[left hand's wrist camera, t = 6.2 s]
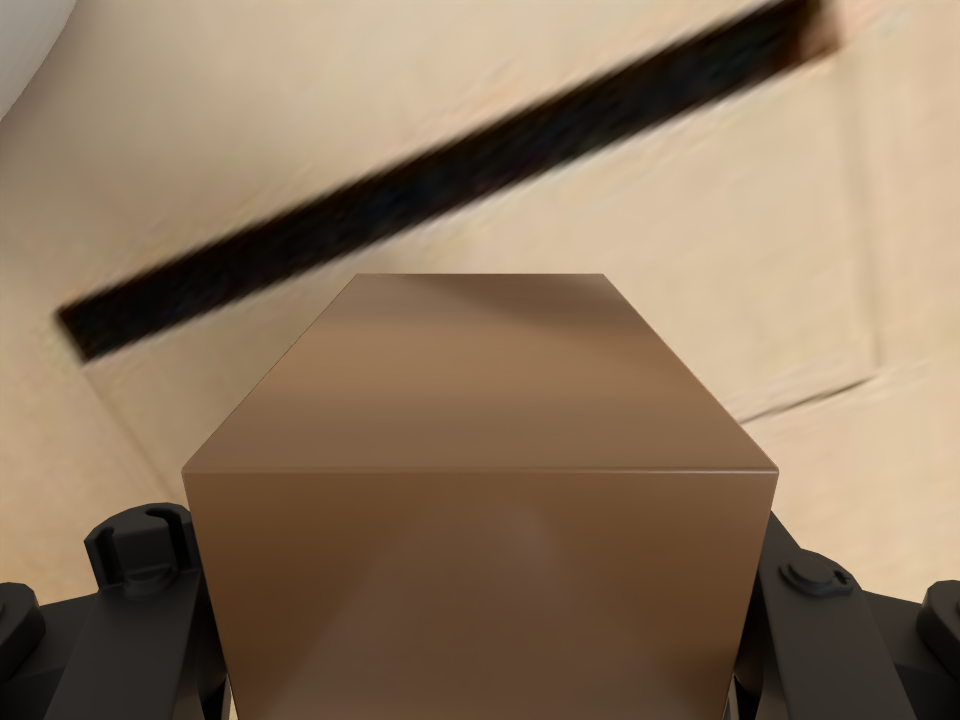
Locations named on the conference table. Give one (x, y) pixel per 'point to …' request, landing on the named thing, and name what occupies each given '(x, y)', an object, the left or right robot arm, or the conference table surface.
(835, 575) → the left robot arm
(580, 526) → the bar
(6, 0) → the projector
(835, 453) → the conference table surface
